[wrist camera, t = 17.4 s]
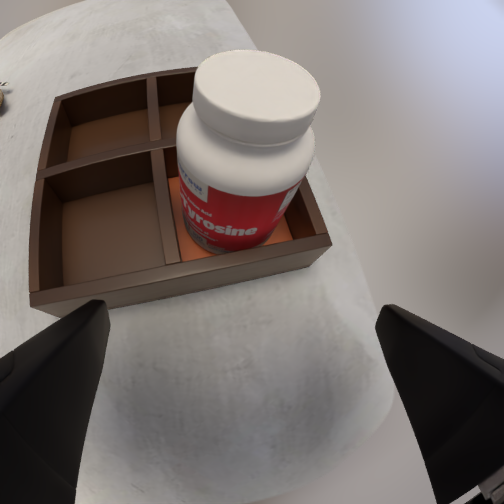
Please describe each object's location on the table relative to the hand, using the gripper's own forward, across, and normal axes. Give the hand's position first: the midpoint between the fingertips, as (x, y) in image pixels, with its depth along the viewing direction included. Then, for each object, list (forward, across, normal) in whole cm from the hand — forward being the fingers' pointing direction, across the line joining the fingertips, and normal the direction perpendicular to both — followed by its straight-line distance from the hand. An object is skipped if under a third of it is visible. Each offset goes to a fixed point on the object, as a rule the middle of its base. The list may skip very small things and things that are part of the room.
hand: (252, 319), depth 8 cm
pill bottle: (+12, 0, +1) cm, 12 cm away
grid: (+14, +5, -1) cm, 15 cm away
